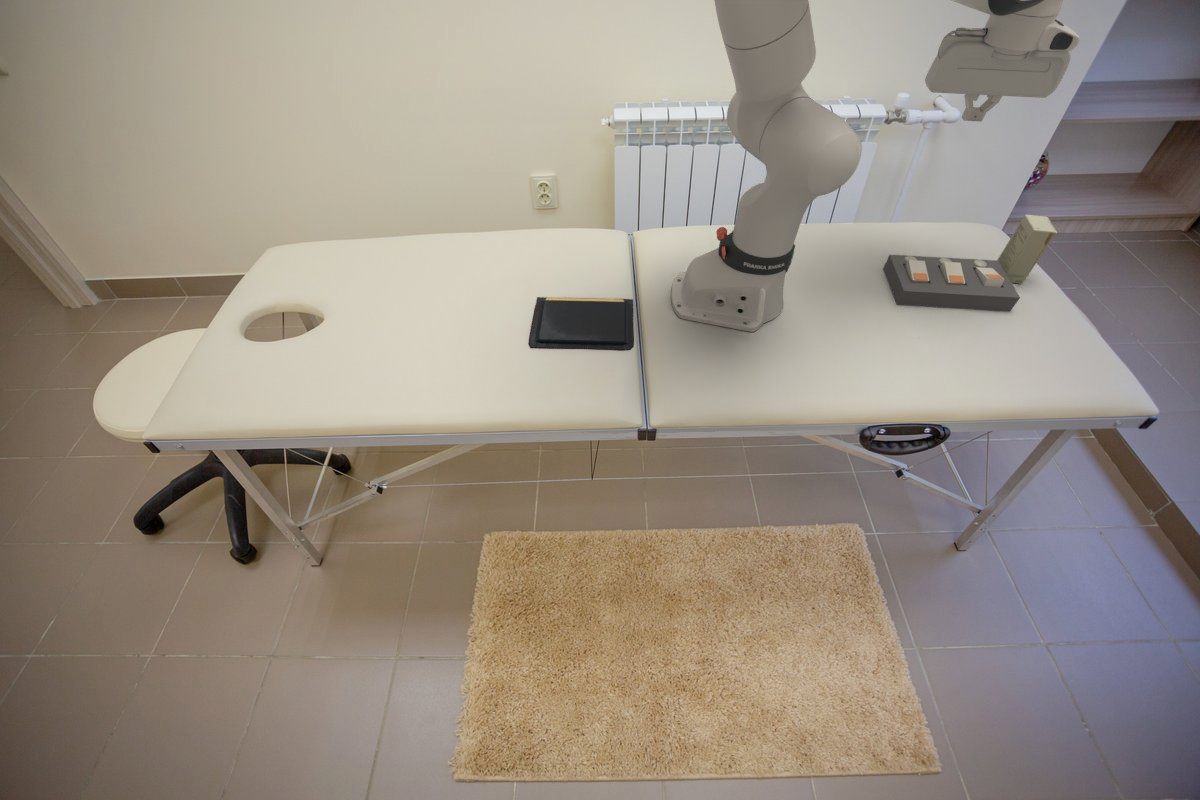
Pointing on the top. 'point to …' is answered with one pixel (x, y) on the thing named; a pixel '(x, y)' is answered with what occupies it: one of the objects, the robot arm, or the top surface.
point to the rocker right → (989, 277)
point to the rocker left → (917, 271)
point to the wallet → (582, 324)
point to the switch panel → (945, 294)
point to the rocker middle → (952, 273)
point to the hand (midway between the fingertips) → (971, 119)
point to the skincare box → (1026, 247)
